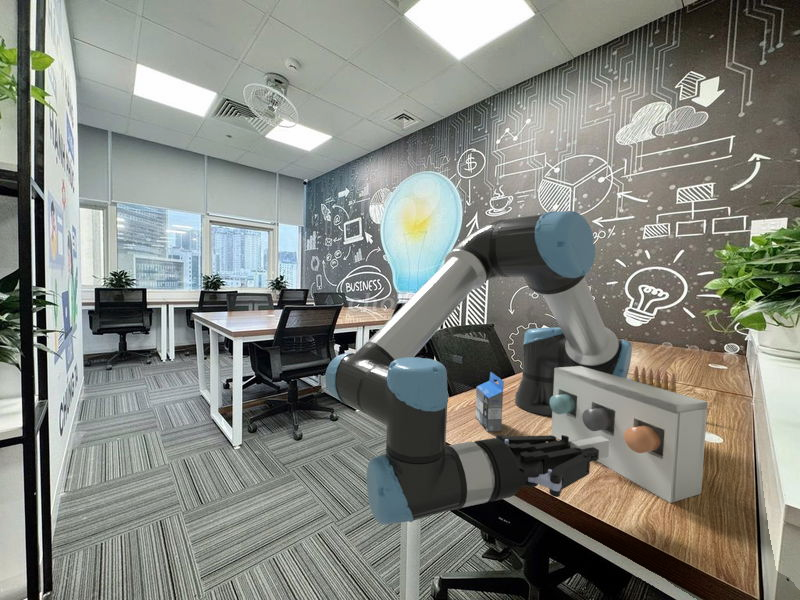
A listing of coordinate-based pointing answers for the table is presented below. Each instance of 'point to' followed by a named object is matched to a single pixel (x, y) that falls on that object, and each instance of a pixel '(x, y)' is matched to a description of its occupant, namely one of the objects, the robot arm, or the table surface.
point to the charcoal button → (597, 419)
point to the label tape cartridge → (490, 404)
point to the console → (631, 407)
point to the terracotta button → (642, 439)
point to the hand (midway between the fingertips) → (604, 446)
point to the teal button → (562, 404)
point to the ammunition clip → (657, 379)
